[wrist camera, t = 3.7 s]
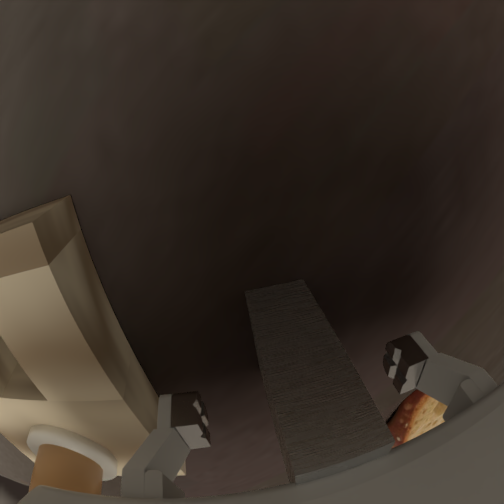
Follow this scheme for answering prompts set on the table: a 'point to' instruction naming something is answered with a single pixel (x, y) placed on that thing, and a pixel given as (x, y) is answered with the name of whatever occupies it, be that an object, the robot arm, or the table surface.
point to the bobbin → (69, 460)
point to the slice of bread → (415, 417)
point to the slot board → (65, 340)
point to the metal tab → (312, 386)
